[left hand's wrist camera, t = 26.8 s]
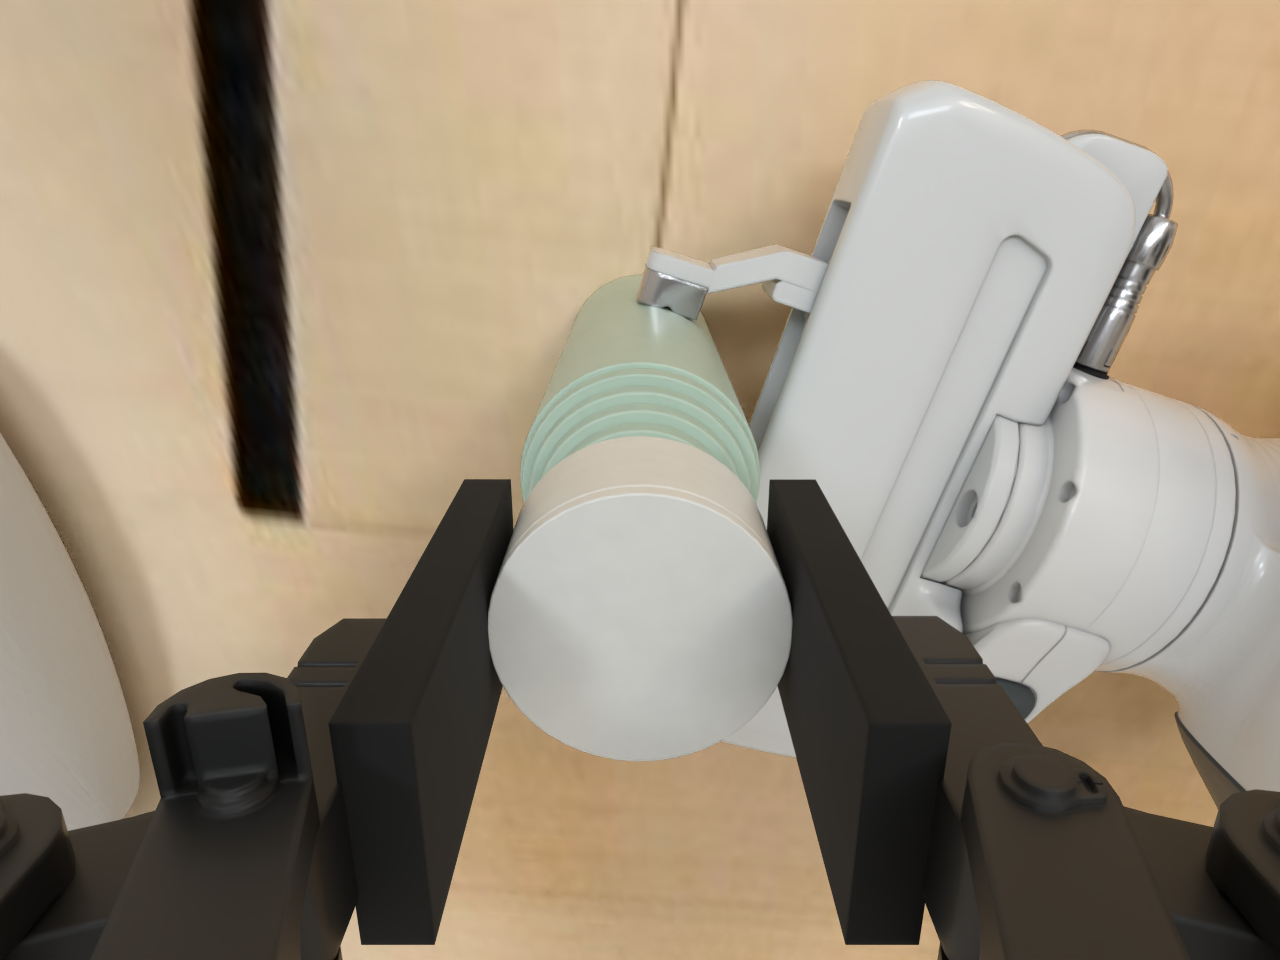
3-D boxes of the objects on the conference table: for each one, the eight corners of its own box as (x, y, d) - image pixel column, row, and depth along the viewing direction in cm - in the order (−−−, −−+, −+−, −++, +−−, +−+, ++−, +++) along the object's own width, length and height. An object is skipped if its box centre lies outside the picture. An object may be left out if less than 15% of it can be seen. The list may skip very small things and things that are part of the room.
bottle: (668, 433, 32) (706, 789, 14) (549, 374, 32) (420, 667, 13) (733, 314, 31) (872, 538, 12) (609, 249, 30) (559, 384, 12)
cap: (808, 603, 15) (842, 690, 12) (590, 702, 15) (581, 803, 13) (696, 388, 13) (709, 438, 11) (464, 507, 14) (427, 579, 12)
